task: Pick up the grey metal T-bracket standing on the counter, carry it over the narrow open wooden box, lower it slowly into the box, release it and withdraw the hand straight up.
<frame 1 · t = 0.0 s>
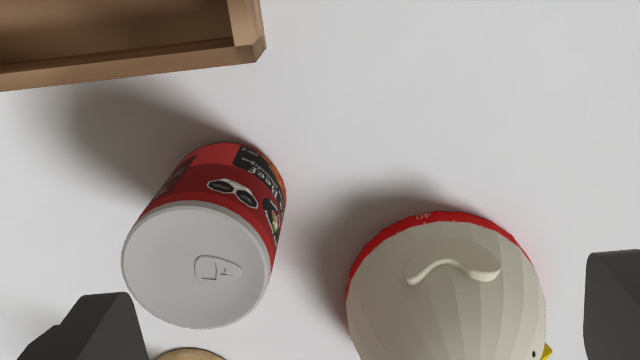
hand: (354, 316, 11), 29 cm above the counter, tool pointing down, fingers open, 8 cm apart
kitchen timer: (438, 293, 45), on the counter
canned food: (231, 189, 42), on the counter
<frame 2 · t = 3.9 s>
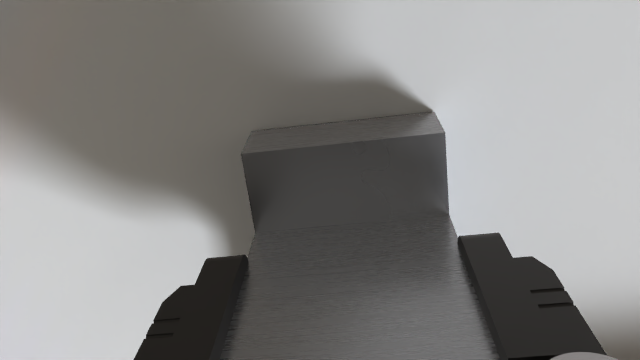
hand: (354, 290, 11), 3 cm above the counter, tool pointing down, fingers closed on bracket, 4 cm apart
bracket: (353, 224, 14), on the counter, touching gripper
when the fingers open (4 cm above the counter, at t = 8.7 s): bracket stays where it is, resting on open wooden box.
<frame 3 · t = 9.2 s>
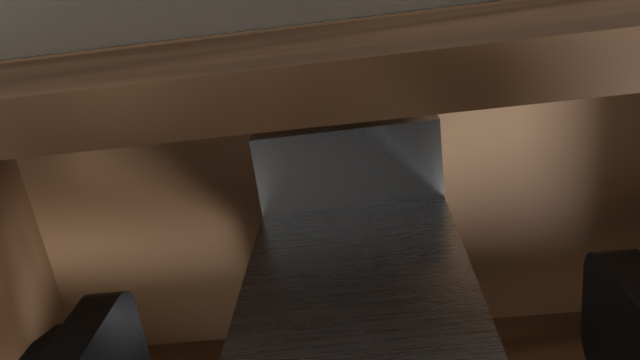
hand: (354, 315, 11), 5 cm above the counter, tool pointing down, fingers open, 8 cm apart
bracket: (354, 208, 15), point 1 cm above the counter, touching open wooden box
open wooden box: (351, 200, 15), on the counter
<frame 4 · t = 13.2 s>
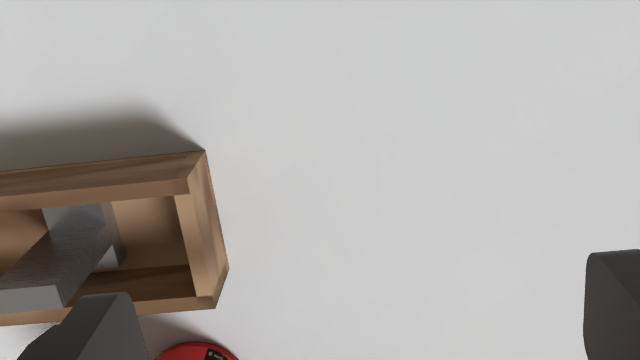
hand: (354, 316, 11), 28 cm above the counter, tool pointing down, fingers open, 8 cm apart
bracket: (89, 227, 41), point 1 cm above the counter, touching open wooden box
open wooden box: (91, 223, 42), on the counter
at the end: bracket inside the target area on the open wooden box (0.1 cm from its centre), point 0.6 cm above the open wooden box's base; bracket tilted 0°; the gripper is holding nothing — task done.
